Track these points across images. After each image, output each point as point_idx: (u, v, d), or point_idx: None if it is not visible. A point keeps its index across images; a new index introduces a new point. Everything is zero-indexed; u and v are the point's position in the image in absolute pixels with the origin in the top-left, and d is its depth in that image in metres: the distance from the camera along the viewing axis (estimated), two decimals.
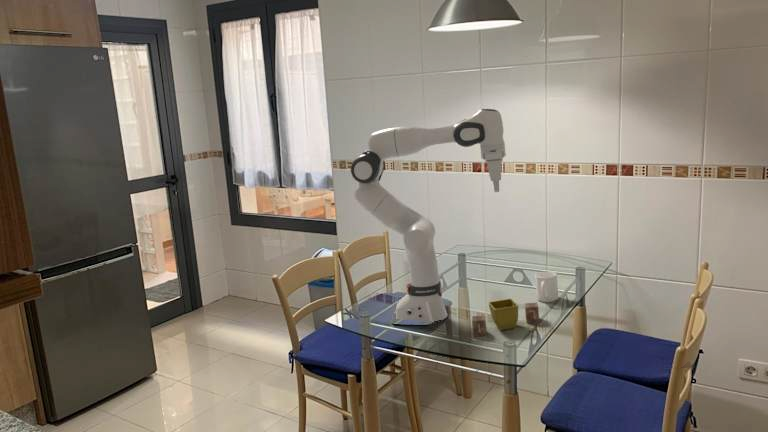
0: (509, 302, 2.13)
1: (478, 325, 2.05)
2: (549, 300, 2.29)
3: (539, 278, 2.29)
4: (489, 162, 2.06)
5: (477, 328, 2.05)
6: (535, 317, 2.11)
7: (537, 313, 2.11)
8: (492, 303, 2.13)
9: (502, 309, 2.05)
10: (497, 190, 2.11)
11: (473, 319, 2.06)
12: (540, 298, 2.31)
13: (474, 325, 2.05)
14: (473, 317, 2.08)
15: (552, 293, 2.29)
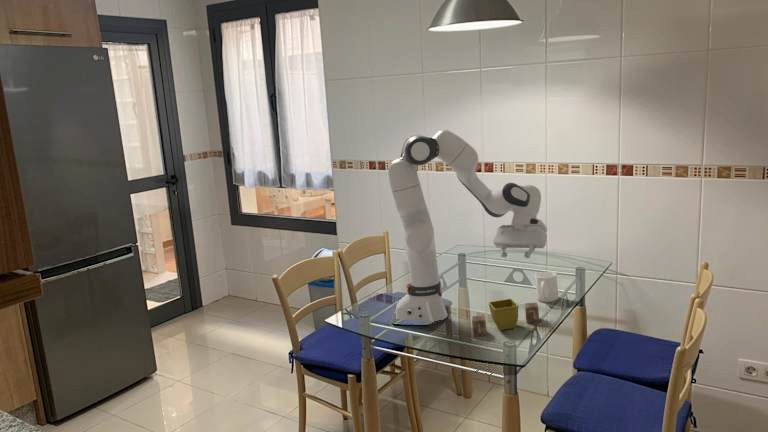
0: (509, 302, 2.13)
1: (478, 325, 2.05)
2: (549, 300, 2.29)
3: (539, 278, 2.29)
4: (542, 228, 2.14)
5: (477, 328, 2.05)
6: (535, 317, 2.11)
7: (537, 313, 2.11)
8: (492, 303, 2.13)
9: (502, 309, 2.05)
10: (529, 256, 2.13)
11: (473, 319, 2.06)
12: (540, 298, 2.31)
13: (474, 325, 2.05)
14: (473, 317, 2.08)
15: (552, 293, 2.29)
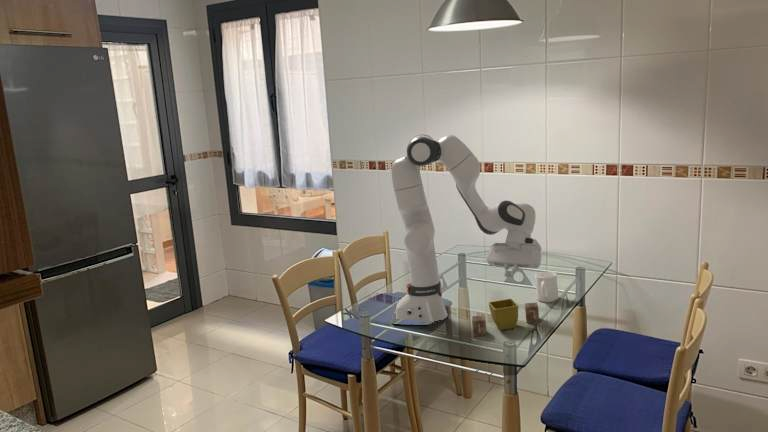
0: (509, 302, 2.13)
1: (478, 325, 2.05)
2: (549, 300, 2.29)
3: (539, 278, 2.29)
4: (537, 247, 2.11)
5: (477, 328, 2.05)
6: (535, 317, 2.11)
7: (537, 313, 2.11)
8: (492, 303, 2.13)
9: (502, 309, 2.05)
10: (513, 275, 2.12)
11: (473, 319, 2.06)
12: (540, 298, 2.31)
13: (474, 325, 2.05)
14: (473, 317, 2.08)
15: (552, 293, 2.29)
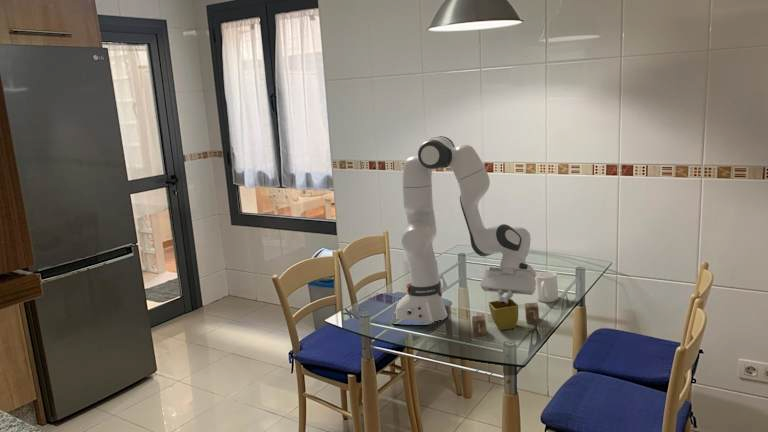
0: (509, 302, 2.13)
1: (478, 325, 2.05)
2: (549, 300, 2.29)
3: (539, 278, 2.29)
4: (531, 273, 2.07)
5: (477, 328, 2.05)
6: (535, 317, 2.11)
7: (537, 313, 2.11)
8: (492, 303, 2.13)
9: (502, 309, 2.05)
10: (507, 301, 2.08)
11: (473, 319, 2.06)
12: (540, 298, 2.31)
13: (474, 325, 2.05)
14: (473, 317, 2.08)
15: (552, 293, 2.29)
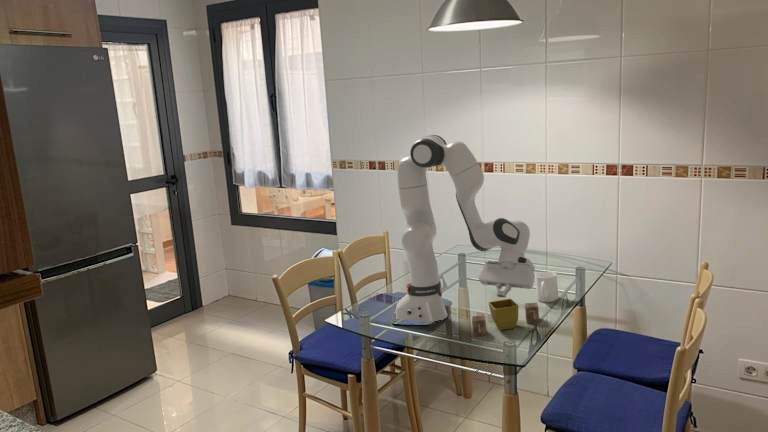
0: (509, 302, 2.13)
1: (478, 325, 2.05)
2: (549, 300, 2.29)
3: (539, 278, 2.29)
4: (530, 267, 2.07)
5: (477, 328, 2.05)
6: (535, 317, 2.11)
7: (537, 313, 2.11)
8: (492, 303, 2.13)
9: (502, 309, 2.05)
10: (505, 295, 2.08)
11: (473, 319, 2.06)
12: (540, 298, 2.31)
13: (474, 325, 2.05)
14: (473, 317, 2.08)
15: (552, 293, 2.29)
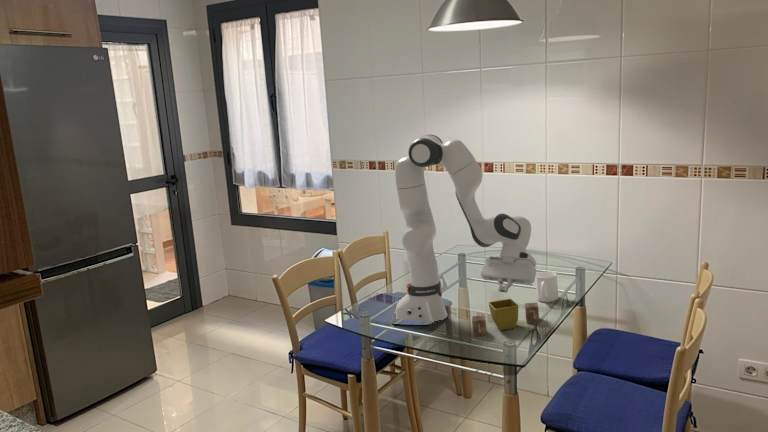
0: (509, 302, 2.13)
1: (478, 325, 2.05)
2: (549, 300, 2.29)
3: (539, 278, 2.29)
4: (531, 262, 2.07)
5: (477, 328, 2.05)
6: (535, 317, 2.11)
7: (537, 313, 2.11)
8: (492, 303, 2.13)
9: (502, 309, 2.05)
10: (506, 290, 2.09)
11: (473, 319, 2.06)
12: (540, 298, 2.31)
13: (474, 325, 2.05)
14: (473, 317, 2.08)
15: (552, 292, 2.29)
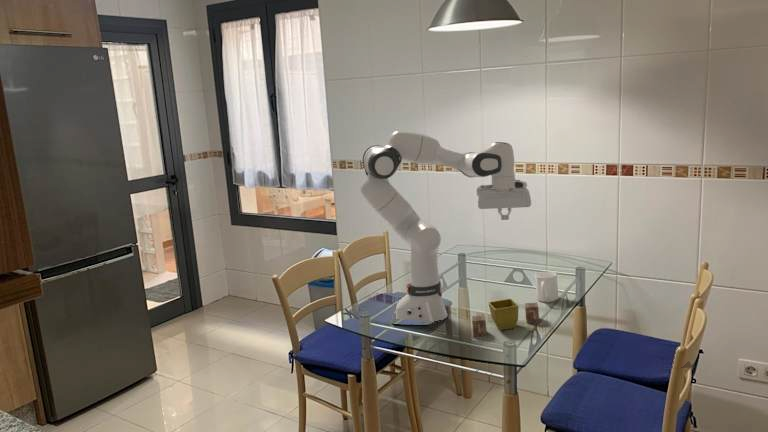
0: (509, 302, 2.13)
1: (478, 325, 2.05)
2: (549, 300, 2.29)
3: (539, 278, 2.29)
4: (527, 189, 2.22)
5: (477, 328, 2.05)
6: (535, 317, 2.11)
7: (537, 313, 2.11)
8: (492, 303, 2.13)
9: (502, 309, 2.05)
10: (508, 218, 2.26)
11: (473, 319, 2.06)
12: (540, 298, 2.31)
13: (474, 325, 2.05)
14: (473, 317, 2.08)
15: (552, 293, 2.29)
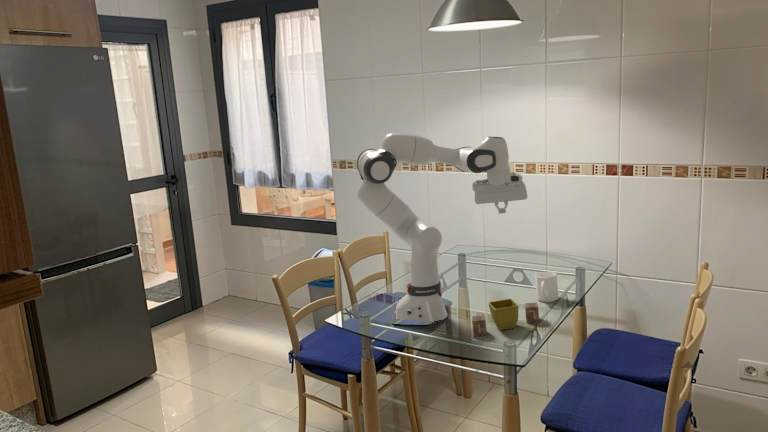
0: (509, 302, 2.13)
1: (478, 325, 2.05)
2: (549, 300, 2.29)
3: (539, 278, 2.29)
4: (523, 182, 2.23)
5: (477, 328, 2.05)
6: (535, 317, 2.11)
7: (537, 313, 2.11)
8: (492, 303, 2.13)
9: (502, 309, 2.05)
10: (505, 211, 2.28)
11: (473, 319, 2.06)
12: (540, 298, 2.31)
13: (474, 325, 2.05)
14: (473, 317, 2.08)
15: (552, 293, 2.29)
